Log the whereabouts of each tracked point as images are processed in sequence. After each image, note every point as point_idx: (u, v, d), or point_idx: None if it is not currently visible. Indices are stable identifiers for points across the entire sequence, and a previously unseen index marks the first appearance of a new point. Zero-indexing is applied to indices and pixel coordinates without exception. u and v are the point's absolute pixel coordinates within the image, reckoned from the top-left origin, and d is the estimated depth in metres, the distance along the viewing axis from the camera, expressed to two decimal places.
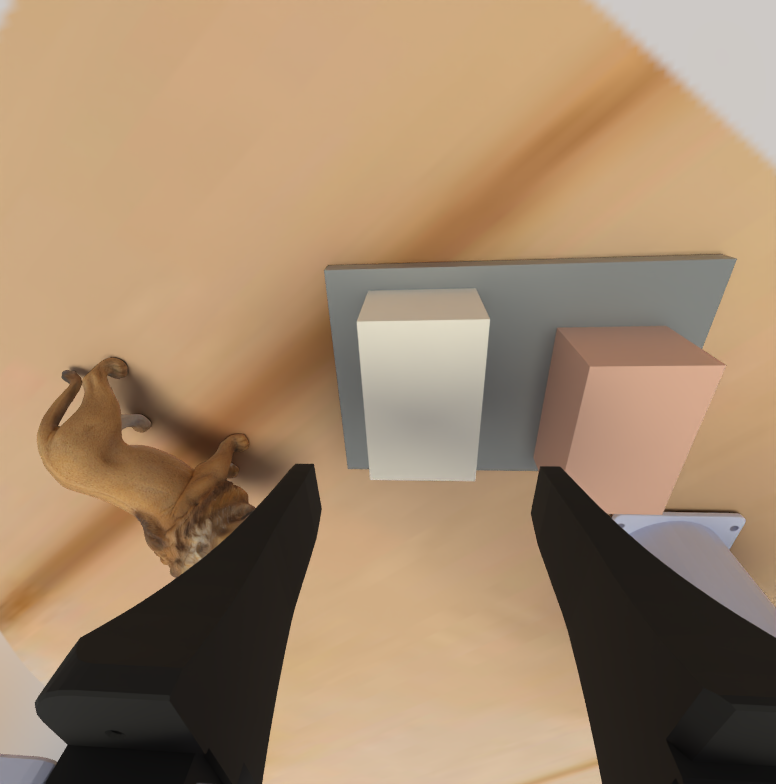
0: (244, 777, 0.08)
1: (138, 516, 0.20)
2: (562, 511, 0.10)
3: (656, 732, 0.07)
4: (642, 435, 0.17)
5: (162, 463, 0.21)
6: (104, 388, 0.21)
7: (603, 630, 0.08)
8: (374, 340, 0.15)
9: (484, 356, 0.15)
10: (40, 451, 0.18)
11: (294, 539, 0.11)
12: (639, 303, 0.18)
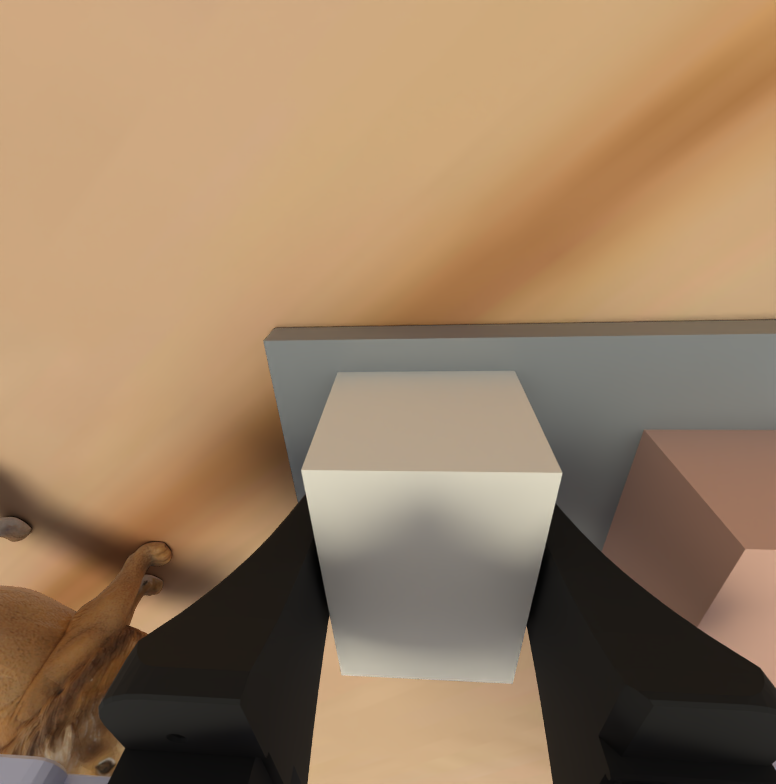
0: (293, 780, 0.08)
1: None
2: None
3: (591, 728, 0.07)
4: None
5: (11, 621, 0.13)
6: None
7: (553, 628, 0.08)
8: (336, 499, 0.08)
9: (545, 528, 0.08)
10: None
11: None
12: None
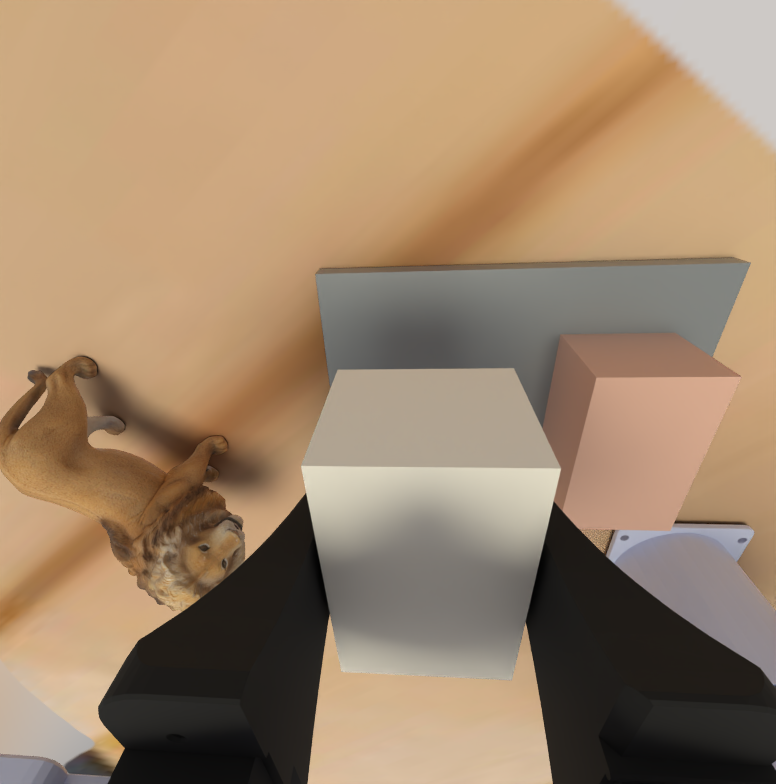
0: (293, 780, 0.08)
1: (104, 524, 0.18)
2: None
3: (591, 728, 0.07)
4: (651, 449, 0.16)
5: (131, 467, 0.19)
6: (69, 388, 0.20)
7: (553, 628, 0.08)
8: (336, 495, 0.08)
9: (543, 524, 0.08)
10: None
11: None
12: (647, 309, 0.17)
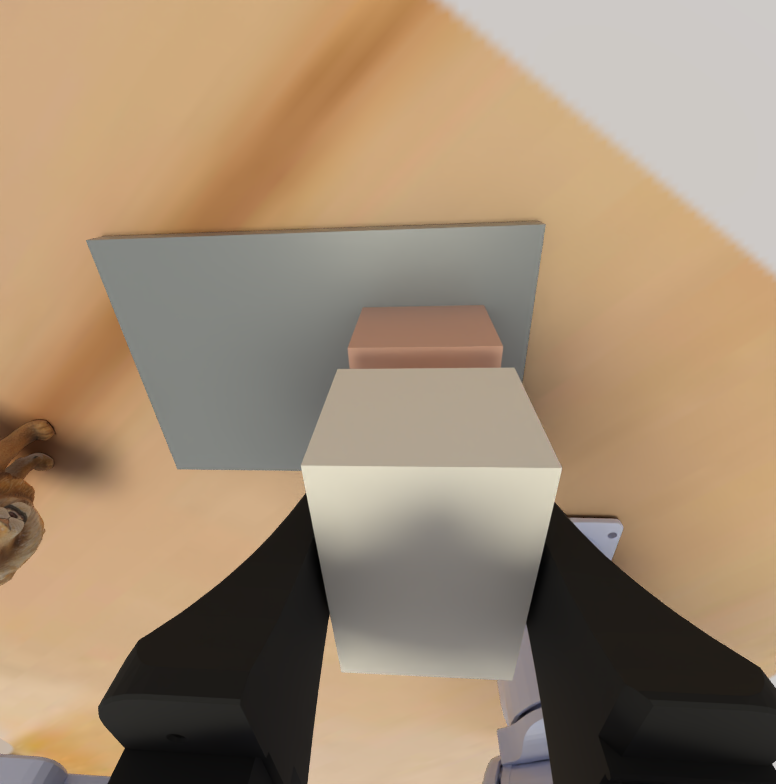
0: (293, 780, 0.08)
1: None
2: None
3: (591, 728, 0.07)
4: None
5: None
6: None
7: (553, 628, 0.08)
8: (336, 495, 0.08)
9: (544, 524, 0.08)
10: None
11: None
12: (448, 279, 0.16)
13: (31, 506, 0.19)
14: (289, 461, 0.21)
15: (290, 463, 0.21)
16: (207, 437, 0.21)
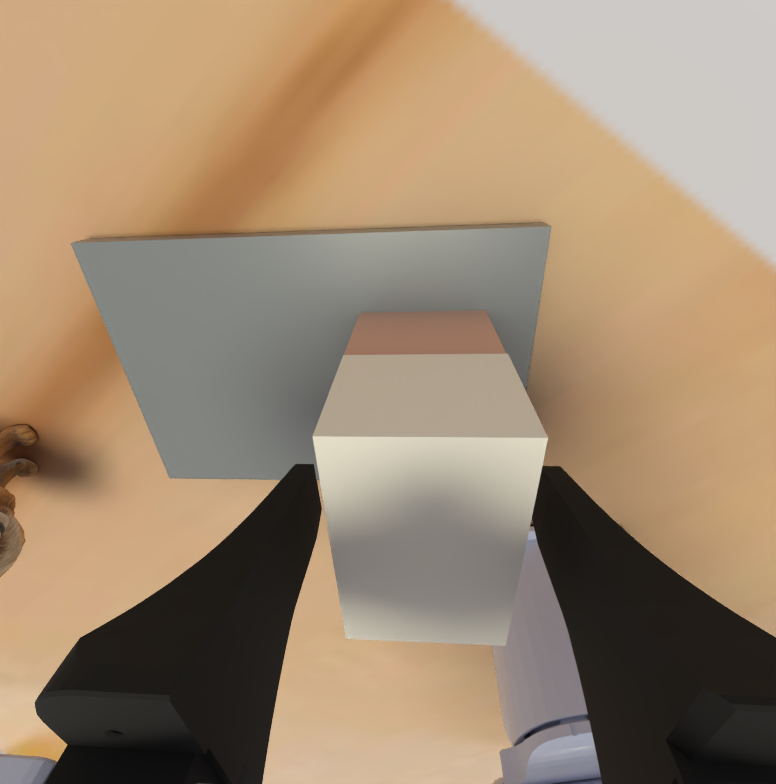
0: (244, 777, 0.08)
1: None
2: (562, 511, 0.10)
3: (656, 732, 0.07)
4: None
5: None
6: None
7: (603, 630, 0.08)
8: (344, 464, 0.09)
9: (533, 491, 0.09)
10: None
11: (294, 539, 0.11)
12: (449, 283, 0.15)
13: (10, 515, 0.18)
14: (285, 470, 0.20)
15: (286, 472, 0.20)
16: (200, 446, 0.20)
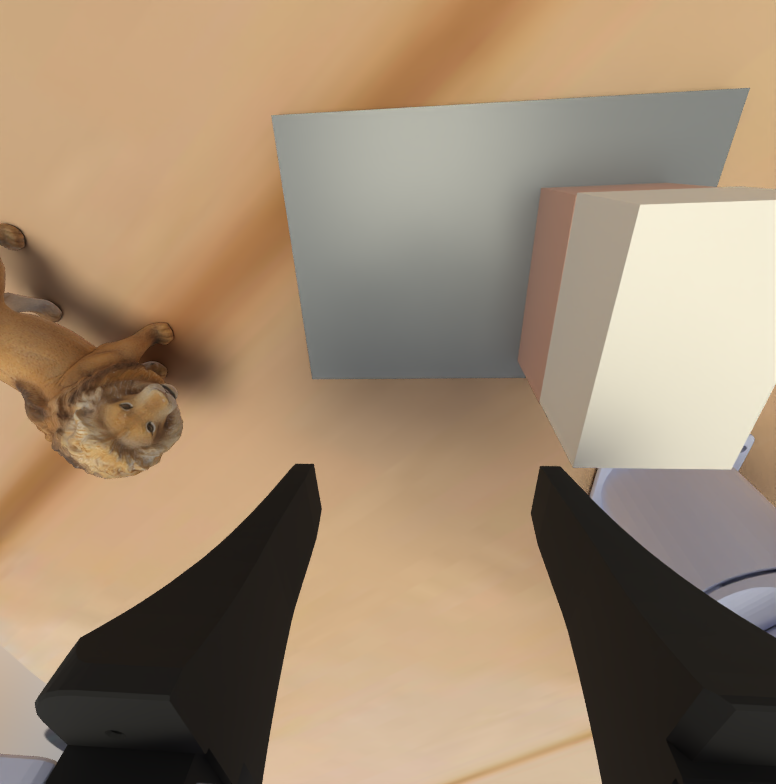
0: (244, 776, 0.08)
1: (18, 385, 0.17)
2: (562, 511, 0.10)
3: (656, 732, 0.07)
4: None
5: (53, 332, 0.18)
6: None
7: (603, 630, 0.08)
8: (658, 239, 0.10)
9: None
10: None
11: (294, 539, 0.11)
12: (636, 153, 0.16)
13: None
14: (429, 368, 0.21)
15: (430, 370, 0.21)
16: (350, 341, 0.21)
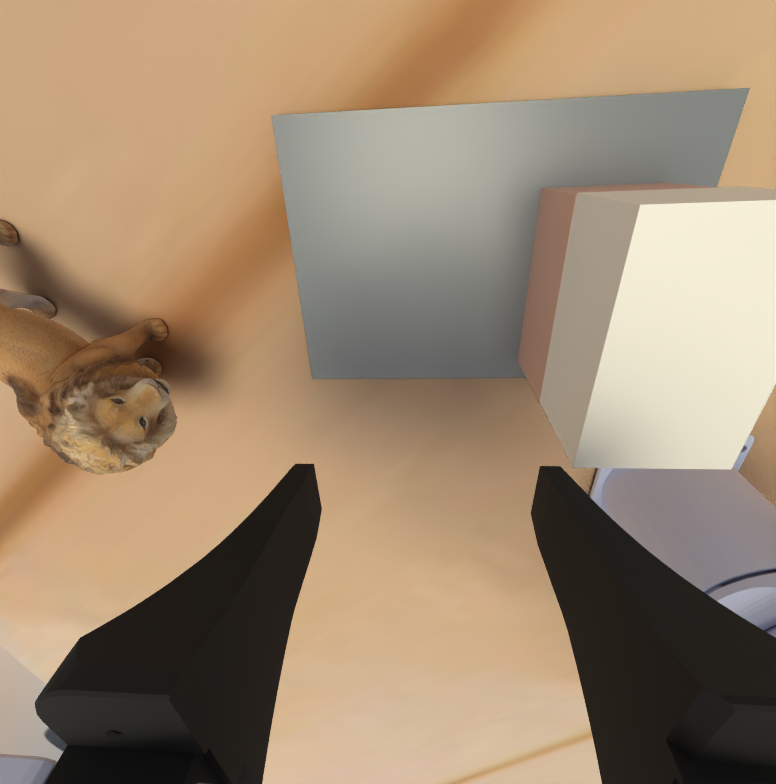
0: (244, 776, 0.08)
1: (10, 381, 0.16)
2: (562, 511, 0.10)
3: (656, 732, 0.07)
4: None
5: (45, 327, 0.18)
6: None
7: (603, 630, 0.08)
8: (658, 239, 0.10)
9: None
10: None
11: (294, 539, 0.11)
12: (636, 153, 0.16)
13: None
14: (429, 368, 0.21)
15: (430, 370, 0.21)
16: (350, 341, 0.21)
